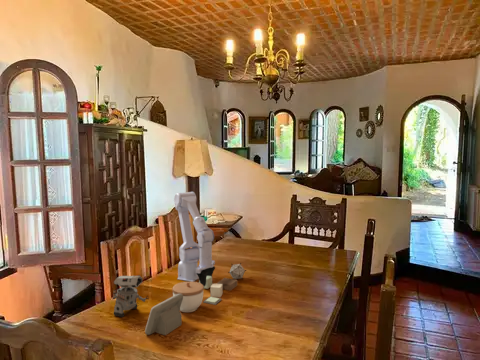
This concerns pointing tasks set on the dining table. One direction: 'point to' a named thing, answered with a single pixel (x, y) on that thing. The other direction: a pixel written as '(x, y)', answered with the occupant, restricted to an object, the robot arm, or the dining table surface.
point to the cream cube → (216, 290)
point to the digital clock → (165, 316)
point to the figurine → (126, 294)
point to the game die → (237, 271)
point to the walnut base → (228, 283)
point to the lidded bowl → (189, 295)
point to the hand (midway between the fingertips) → (205, 283)
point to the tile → (212, 300)
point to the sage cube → (208, 282)
